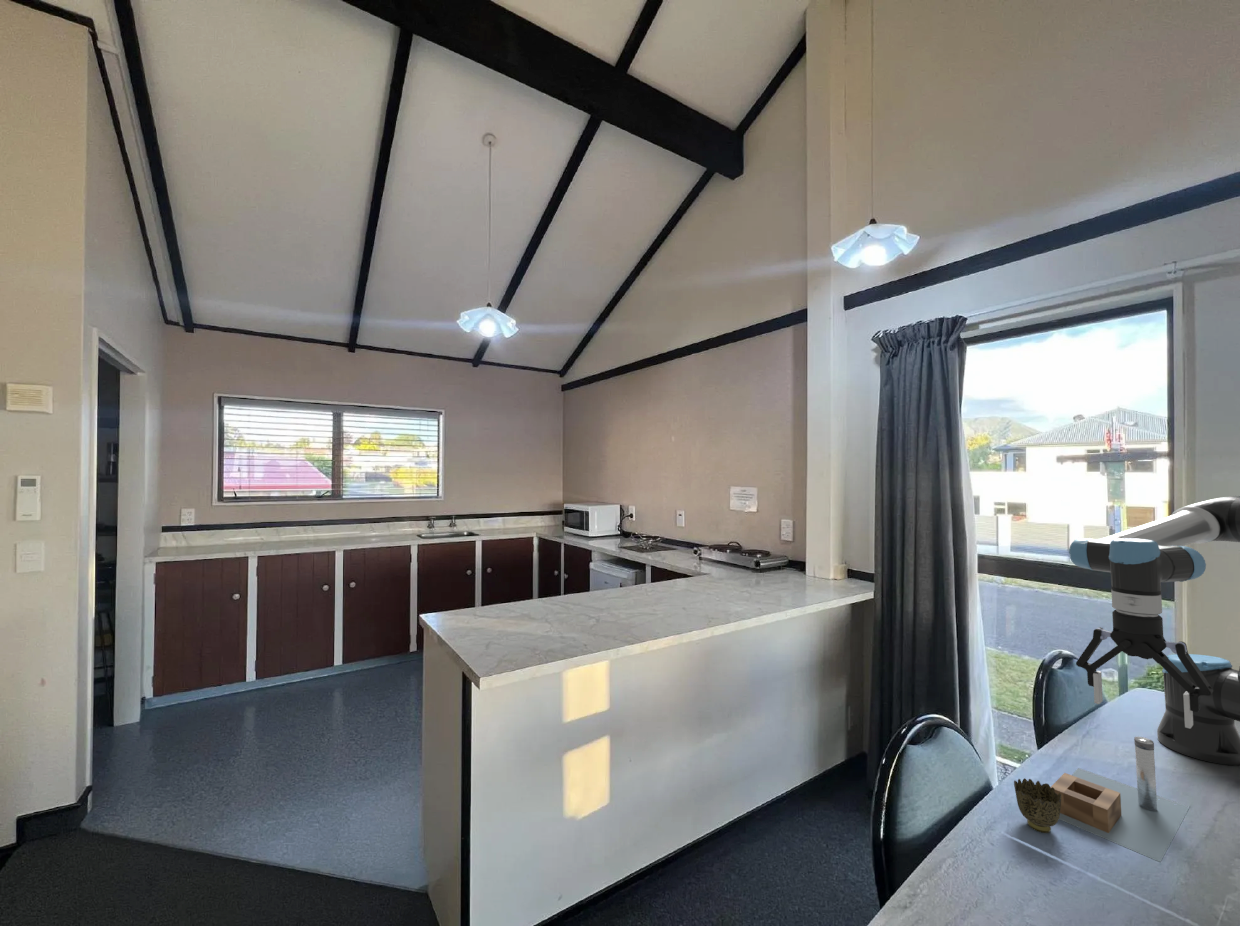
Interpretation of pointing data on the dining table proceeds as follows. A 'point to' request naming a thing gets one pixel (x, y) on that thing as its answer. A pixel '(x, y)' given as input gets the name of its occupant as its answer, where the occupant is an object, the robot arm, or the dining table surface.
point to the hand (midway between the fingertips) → (1141, 713)
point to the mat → (1136, 819)
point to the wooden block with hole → (1088, 802)
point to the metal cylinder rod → (1145, 773)
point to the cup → (1038, 804)
